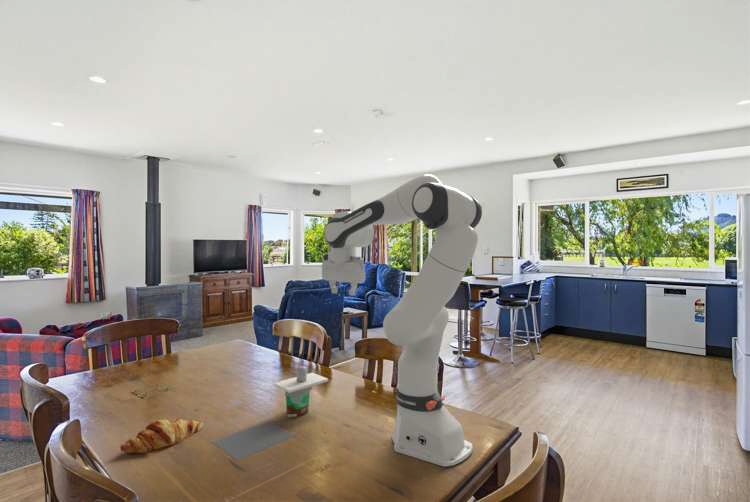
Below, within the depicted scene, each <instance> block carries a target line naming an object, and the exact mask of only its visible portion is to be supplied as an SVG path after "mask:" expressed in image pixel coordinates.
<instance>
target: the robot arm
mask: <svg viewBox="0 0 750 502" xmlns="http://www.w3.org/2000/svg"><path fill="white" fill-rule="evenodd" d="M482 214H483V209H482V205H481V204H480V203H479V201H478V200H477V199H476V198H475V197H473V196H472V195H470V194H467V193H464V192H462V191H460V190H459V189H457V188H455V187H452V186H448V185H443V183H442V181H441V180H440V178H438V177H437V176H435V175H433V174H431V173H427V174H426V173H425V174H422V175H420V176H417V177H415V178H413V179H412V178H411V179H410V180H408V181H407V182H405V183H403V184H402V185H400V186H399V187H398V188H395V189H394V190H393V191H391V192H388V193H387V194H385V195H383V196H381V197H380V198H377V199H376V200H373V201H371V202H369V203H366V204H365V205H363V206H361V207H358V208H357V209H356V210H353V211H350V210H342V211H337V212H335V213H333V215H332V217H331V219H330V220H328V222H327V224H326V225H325V226H324V230H323V231H324V232H323V236H324V239H325V241H326V242H327V244H328V245H329V246H330V251H328V252H326V253H324V254H322V255H321V261H322V264H321V278H322V280H323V281H328V283H329V287H330V288H331V294H338V289H339V288H338V287H337V286H336V285H337V282H339V283H340V282H341V283H350V286H351V287H350V289H349V290H348V295H349V296H355V295H356V290H357V288H358V284H364V283H365V281H366V269H365V262H364V260H363V258H362V257H361V256H356V248H366V247H369V246H371V244H373V242H374V240H375V237H376V230H375V227H374V226H379V225H404V224H409V223H410V222H413V221H415V220H417V219H419V220H420V221H421V222H422V223H423V224H424V226H425V227H426V228H427V229H428V230H434V231H435V239H434V242H433V244H432V246H431V248H430V250H429V252H428V254H427V255H426V259H425V260H424V262H423V264H422V266H421V268H420V270H419V271H418V274H417V276H416V277H415V279H414V280H413V282H412V283H411V285H410V286H409V288H408V289H407V290H406V292H404V294H403V296H402V297H401V298H400V299H399V301H398V303H396V305H395V306H394V307H393V308H392V309H391V310H390V311H388V312H387V314H386V315H385V316H384V318H383V322H382V329H383V334H384V335H385V337H386V339H387V340H388V341H389V342H390V343H392V344H393V345H395V346H398V347H402V346H404V347H403V350H402V353H401V355H400V357H399V359H398V363H397V388H396V392H395V393H396V397H395V399H396V403H397V406H396V407H397V410H396V419H395V425H394V431H393V433H392V437H391V440H392V442H393V444H394V445H393V450H394V451H395V452H396V453H400V454H403V455H406V456H409V457H411V458H414V459H417V460H418V459H419V460H421V461H424V462H429V463H431V464H434V465H437V466H441V467H452V466H455V465H457V464H460V463H461V462H464V461H465V460H466V459H467V458H469V456H471V454H472V453H473V443H471V441H468V440H466V439H465V435H464V430H463V426H462V424H461V423H460V422H459V421H458V420H457V418H455V417H454V416H453V415H452V413H451V412H449V410H448V409H447V408H446V407H445V406H444V404H443V403H444V401H446V395H443V396H441V394H440V391H439V389H438V364H439V357H440V353H441V352H440V351H441V348H442V341H443V336H444V333H445V330H446V327H447V325H448V323H449V319H450V318H449V317H450V316H449V311H448V309H447V307H446V304H447V303H448V302H449V301H450V300H451V299H452V298H453V297H455V296H454V295H455V293H456V292H457V289H458V288H459V287H460V285H461V282H462V281H463V279H464V276H465V275H466V272H467V271H468V268H469V266H470V264H471V263H472V260H473V257H474V254H475V252H476V248H477V245H478V241H479V237H478V233H477V232H476V230H475V228H476V227H477V226H478V224H479V223H480V221H481V219H482V217H483V215H482Z"/></svg>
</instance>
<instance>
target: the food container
mask: <svg viewBox="0 0 750 502" xmlns="http://www.w3.org/2000/svg"><path fill="white" fill-rule="evenodd" d="M312 387H313V386H311V387H307V388H304V389H301V390H297V391H294V392H291V393H288V392H286V391H284V395H285V401H286V403H285V404H286V405H285V406H286V418H288V419H290V418H291V419H292V418H299V417H302V416H305V415H307V414H308V412H309V410H310V409H309V406H310V395H311V394H310V393H311V391H312V389H313V388H312Z"/></svg>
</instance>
